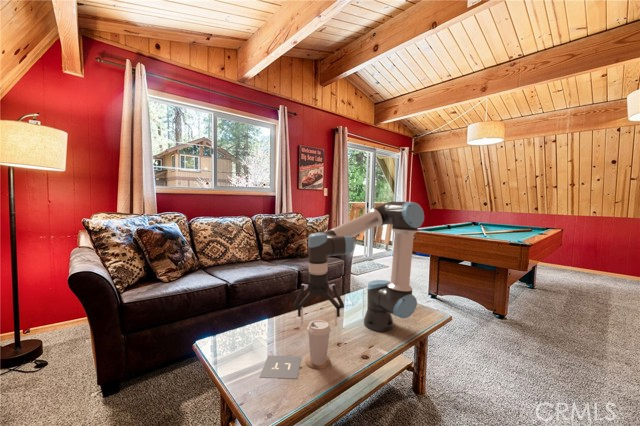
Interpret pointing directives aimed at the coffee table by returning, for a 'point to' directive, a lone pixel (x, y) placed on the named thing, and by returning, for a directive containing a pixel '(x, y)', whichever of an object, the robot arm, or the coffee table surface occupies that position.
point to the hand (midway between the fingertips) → (318, 324)
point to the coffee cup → (318, 341)
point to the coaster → (309, 364)
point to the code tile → (281, 367)
